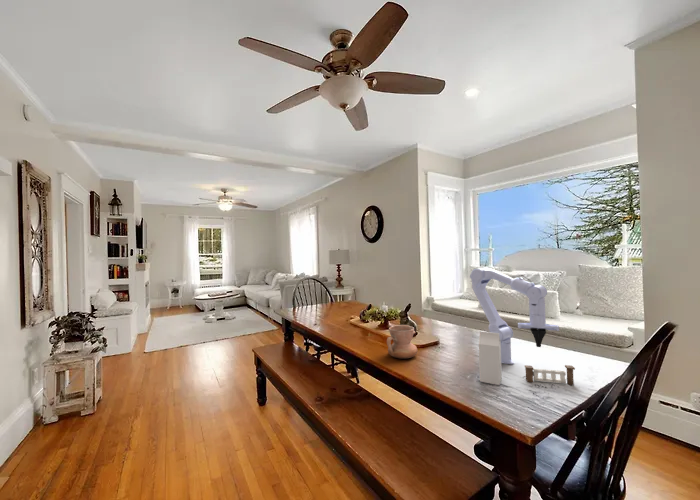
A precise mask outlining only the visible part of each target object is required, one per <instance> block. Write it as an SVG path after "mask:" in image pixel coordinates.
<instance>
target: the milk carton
mask: <svg viewBox="0 0 700 500" xmlns="http://www.w3.org/2000/svg"><path fill="white" fill-rule="evenodd" d="M478 362H479V363H478V364H479V366H478V367H479V368H478V369H479V382H481V383H485V384H493V385H496V386H500V385H501V382H502V378H503V377H502V376H503V374H502V373H503V372H502V363H501V341H500V337H499V333H491V332H490V331H489V332H488V331H479V337H478Z"/></svg>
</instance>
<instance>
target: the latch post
mask: <svg viewBox="0 0 700 500" xmlns="http://www.w3.org/2000/svg"><path fill="white" fill-rule="evenodd" d="M524 368H525V381H526V382H527V383H534V372H533V370H534V369H535V368H534V367H533V366H532V365H527V364H526V365H524Z"/></svg>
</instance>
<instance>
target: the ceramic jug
mask: <svg viewBox="0 0 700 500" xmlns="http://www.w3.org/2000/svg"><path fill="white" fill-rule="evenodd" d="M388 332H389V335H390V336H388V337H387V339H386V345H387V347H388V348H387V353H388V354H389V355H390V356H391V357H393V358H395V359H400V360H401V359H403V360H406V359H411V358H413V357H415V356H416V355H417V354H418V348H417V345H415V344H413V343H412V339H413V338H414V334H416V331H415V327H413V326H410V325H409V324H396V325H392V326H390V327H389V328H388ZM392 341H393V342H392ZM391 343H392V344H391Z"/></svg>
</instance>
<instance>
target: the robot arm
mask: <svg viewBox="0 0 700 500" xmlns="http://www.w3.org/2000/svg"><path fill="white" fill-rule="evenodd" d="M469 279H471V286H472V287H471V288H472V290H473V291H472V292H473V294H474V295H475V296H476V299H477V300H478V302H479V305H480V306H481V309H482V311H483V313H484V315H485V317H486V319H487V320H488V322H489V324H488V331H489V332H491V333H499V337H500V341H501V364H508V365H514V364H515V362H514V361H513V359H512V346H511V345H512V344H511V343H512V340H511V339H512V338H513V336H514V331H513V329H512V327H511V326H509V325H508V322H506V321H505V320H504V319H502V317H501V316H500V314H499V312H498V309H497V307H496V306H495V304H494V302H493V300H492V299H491V297H490V294H489V293H488V291H487V289H486V288H487V285H488V283H490V282H491V280H496V281H498V282H501V283H503V284H505V285H508V286H510V289H512V290H513V291H516V292H518V293H520V294H522V295H524V296H526V297H527V298H528V305H529V306H528V309H529V322H517V328H518V329H527V330H528V329H529V330H530V332H531V333H532V336H533V337H534V341H535V346H536V348H541V347H542V342H543V339H544V337H545V336H546V334H547V331H557V332H559V331H560V326H559V325H558V324H548V323H547V322H546V319H547V318H546V300H545V299H546V297H547V295H548V291H547V288H546V287H545V286H544V285H542V284H535V282H533V281H531V282H530V281H527V280H525V279H524V278H523V277H521V276H520V277H515V278H513V277H511V276H509V275H507V274H505V273H502V272H500V271H498V270H497V269H494V268H490V267H489V266H488V267H486V266H485V267H480V268H479V267H476V268H474V269H472V270H471V273H470V275H469Z"/></svg>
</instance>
